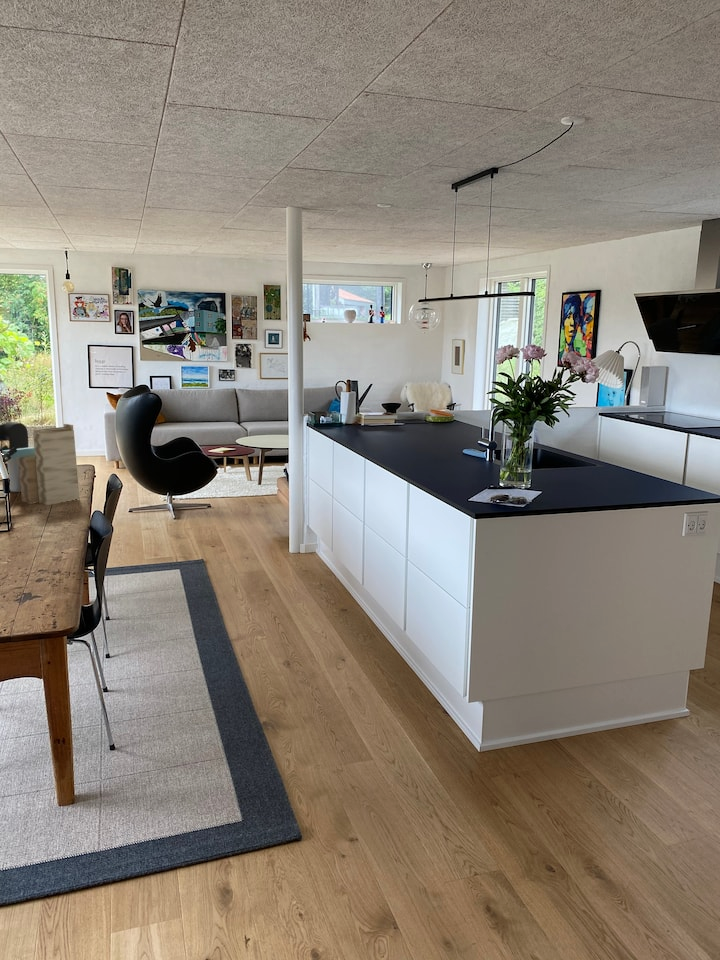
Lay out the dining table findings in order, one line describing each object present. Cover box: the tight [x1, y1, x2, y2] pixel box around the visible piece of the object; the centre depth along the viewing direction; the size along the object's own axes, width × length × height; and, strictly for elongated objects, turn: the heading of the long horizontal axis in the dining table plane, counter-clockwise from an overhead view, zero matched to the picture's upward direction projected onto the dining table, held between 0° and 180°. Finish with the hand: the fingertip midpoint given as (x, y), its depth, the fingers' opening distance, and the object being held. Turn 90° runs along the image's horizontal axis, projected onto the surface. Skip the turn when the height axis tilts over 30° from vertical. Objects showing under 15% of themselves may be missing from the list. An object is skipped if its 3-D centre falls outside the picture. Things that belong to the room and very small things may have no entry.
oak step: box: [18, 456, 39, 505], centre depth 336 cm, size 8×14×21 cm, turn 138°
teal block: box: [2, 446, 35, 459], centre depth 331 cm, size 4×22×4 cm, turn 139°
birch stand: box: [32, 423, 80, 506], centre depth 332 cm, size 8×15×34 cm, turn 138°
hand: (11, 447), depth 325 cm, fingers open, 8 cm apart
